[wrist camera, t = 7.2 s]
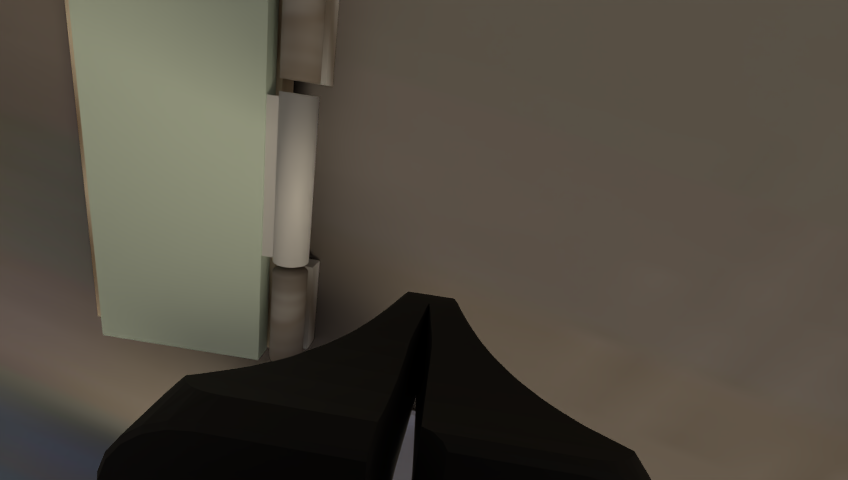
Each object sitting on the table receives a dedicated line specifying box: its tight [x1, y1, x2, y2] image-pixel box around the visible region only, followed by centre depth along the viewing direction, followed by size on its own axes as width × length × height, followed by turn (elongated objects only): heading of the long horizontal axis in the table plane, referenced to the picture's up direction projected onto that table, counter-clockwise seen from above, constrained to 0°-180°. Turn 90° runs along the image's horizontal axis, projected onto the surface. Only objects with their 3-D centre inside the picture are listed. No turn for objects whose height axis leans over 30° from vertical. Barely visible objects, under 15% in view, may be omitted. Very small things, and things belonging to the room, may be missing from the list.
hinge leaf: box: [68, 0, 320, 360], centre depth 18 cm, size 18×10×2 cm, turn 172°
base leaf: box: [65, 0, 339, 361], centre depth 19 cm, size 18×11×3 cm, turn 172°
